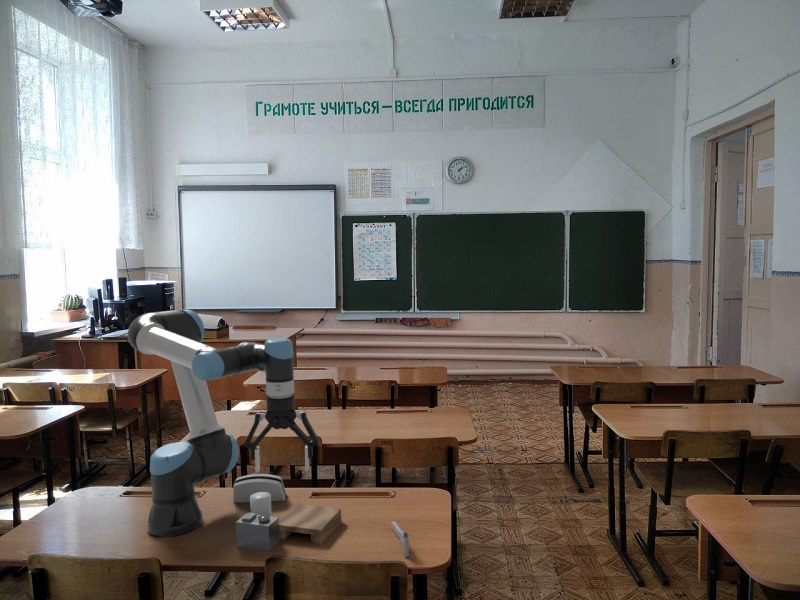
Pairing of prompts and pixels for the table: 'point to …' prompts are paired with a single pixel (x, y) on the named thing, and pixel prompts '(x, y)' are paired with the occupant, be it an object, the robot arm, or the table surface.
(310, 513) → the stand
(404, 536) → the caliper
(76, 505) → the table surface
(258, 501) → the pale grey pebble
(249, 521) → the housing
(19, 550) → the table surface
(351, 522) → the table surface
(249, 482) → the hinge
